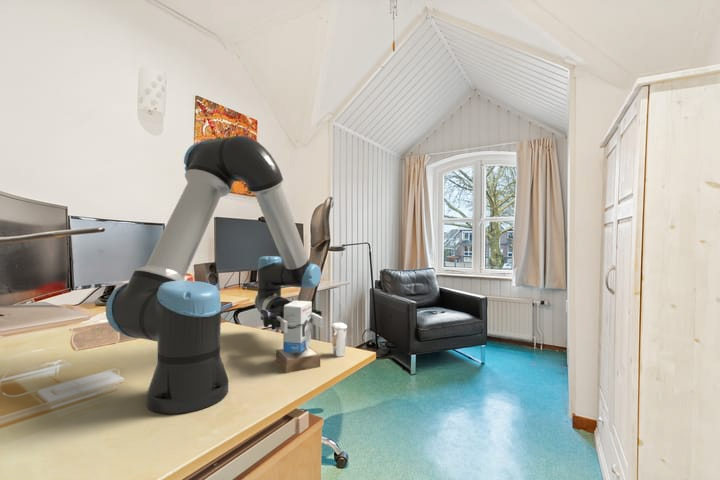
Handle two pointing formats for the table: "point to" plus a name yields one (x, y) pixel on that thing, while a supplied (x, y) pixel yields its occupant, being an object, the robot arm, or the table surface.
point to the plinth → (297, 360)
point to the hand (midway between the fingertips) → (304, 324)
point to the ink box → (297, 326)
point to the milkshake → (339, 338)
